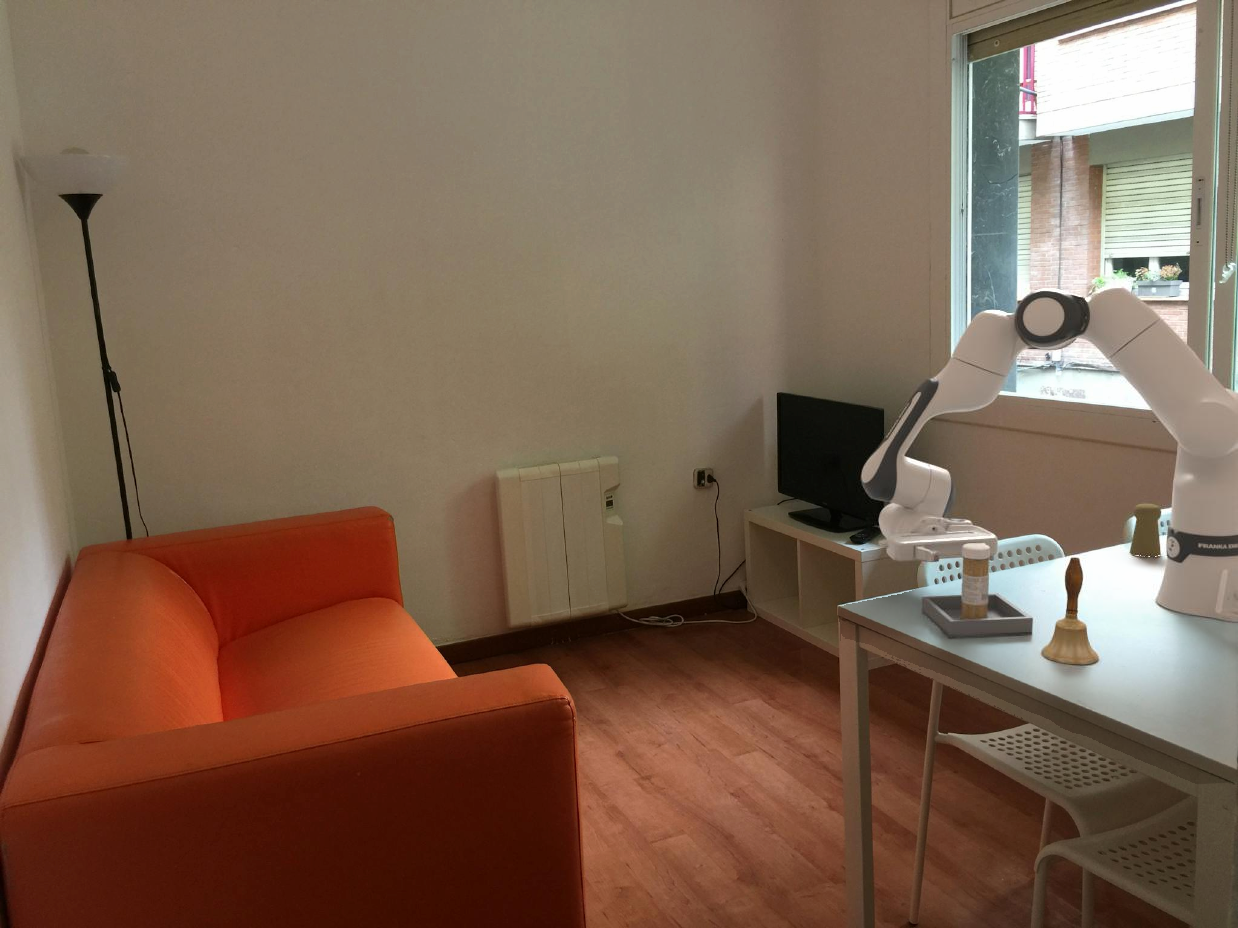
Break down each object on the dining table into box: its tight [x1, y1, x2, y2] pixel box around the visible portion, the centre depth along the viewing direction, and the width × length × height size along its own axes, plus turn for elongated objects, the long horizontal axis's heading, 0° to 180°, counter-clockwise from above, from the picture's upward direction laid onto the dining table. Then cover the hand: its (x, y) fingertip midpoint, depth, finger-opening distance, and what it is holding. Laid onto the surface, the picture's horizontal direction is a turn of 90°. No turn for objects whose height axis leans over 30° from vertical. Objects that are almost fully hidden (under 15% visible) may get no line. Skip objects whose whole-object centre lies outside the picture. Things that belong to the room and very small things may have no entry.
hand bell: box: [1041, 557, 1100, 666], centre depth 154 cm, size 8×8×16 cm
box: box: [921, 592, 1034, 640], centre depth 171 cm, size 14×14×3 cm
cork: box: [1129, 503, 1162, 558], centre depth 211 cm, size 6×6×11 cm
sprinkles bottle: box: [961, 543, 991, 619], centre depth 170 cm, size 5×5×14 cm
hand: (960, 556), depth 176 cm, fingers open, 8 cm apart
